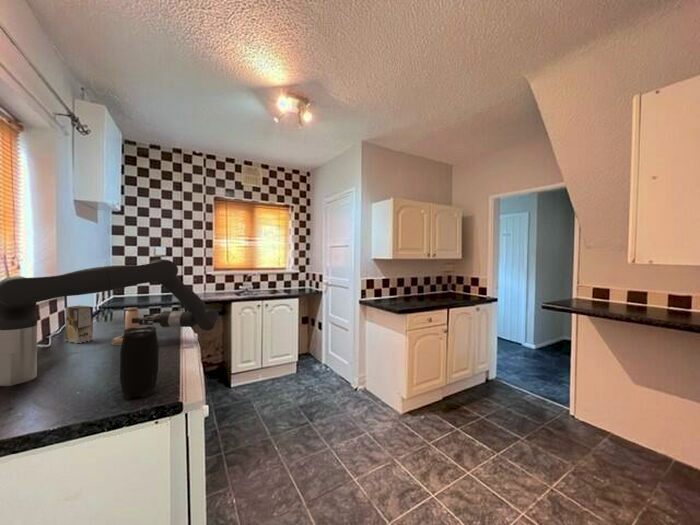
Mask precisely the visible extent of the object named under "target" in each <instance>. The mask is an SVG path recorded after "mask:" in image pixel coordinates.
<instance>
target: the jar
mask: <svg viewBox="0 0 700 525" xmlns="http://www.w3.org/2000/svg"><path fill="white" fill-rule="evenodd" d="M124 316H125V318H124V321H125V322H124V330H126V329H128V328H140V325H139V323H132V318H140V310H139V309H138V307H127V308H126V310H125V314H124Z"/></svg>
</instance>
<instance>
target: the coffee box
mask: <svg viewBox="0 0 700 525" xmlns="http://www.w3.org/2000/svg"><path fill="white" fill-rule="evenodd" d="M64 321H65V334H64V336H65V337H64V338H65V339H64V340H65V341H69V342H68V343H70V342H74V343H73V344H77V343H80V344H83V343H82V342H84V343H87V342H86V341H88V342H91V341H90V340H92V341H93V339H94V338H93V334H94V330H93V329H94V322H93V321H94V306H88V305H75V306H74V305H73V306H68V307H67V306H66V307H65V320H64Z"/></svg>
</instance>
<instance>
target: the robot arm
mask: <svg viewBox="0 0 700 525" xmlns="http://www.w3.org/2000/svg"><path fill="white" fill-rule="evenodd" d="M178 273H179V267H178V264H176V263H175V262H173V261H171V260H169V259H162V258H160V259H154V260H152V261H150V263H145V264H139V265H106V266H105V265H104V266H98V267H96V266H95V267H90V268H84V269H79V270H74V271H71V272H66V273H63V274H58V275H49V276H38V277H37V276H36V277H24V276H21V275H20V276H17V275H14V276H8V277H6V278H4V279H2V280H0V387H11V386H15V385H19V384H24V383H26V382H27V383H28V382H30V381H32V380H35V379H36V378H37V375H38V374H37V373H38V372H37V370H38V368H37V367H38V366H37V365H38V314H37V313H38V311H37V303H40V302H44V301H48V300H53V299H57V298H64V297H71V296H72V297H73V296H80V295H81V296H83V295H90V294H91V295H92V294H96V293H104V292H108V291H109V292H110V291H114V290H119V289H124V288H129V287H133V286H137V285H141V284H148V283H159V284H160V285H162V286H163V287H164V288H165V289H166V290H167V291H169V292H170V293H171V294H172V295H173V296H174V297H175V298H176V299H177V300H178V302H180V304H181V305H183V307H184V308H185V309H186V310H188V311H180V310H179V311H178V310H164V311H162V312H161V313H158V312H157V313H153V314H143V317H139V318H132V323H139V326H141V325H142V326H143V325H144V326H154V325H157V324H159V325H160V327H161V328H193V327H195V326H196V325H197V326H198V327H199V329H201V330H203V331H205V332H208V331H211V330H213V329H214V328H215V325H216V323H217V321H218V320H219V317H220V316H219V312H218V311H217V310H216V309H213V308H206V303H205V302H204V301H203V299H201V297H199V295H198V294H197V293H196V292H194V291H193V290H192V289H191V288H190V287H188V286H187V285H186V284H184V283H183V282H182V281H181V280H180V279H179V277H177V276H178Z"/></svg>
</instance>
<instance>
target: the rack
mask: <svg viewBox="0 0 700 525" xmlns="http://www.w3.org/2000/svg"><path fill="white" fill-rule="evenodd" d="M123 336H124V334H122V335H120V336H119V335H118V336H117V337H114V338H111V339H110V340H111V341H110V345H111V344H112V345H111V346H121V345H122V341H123Z"/></svg>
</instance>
